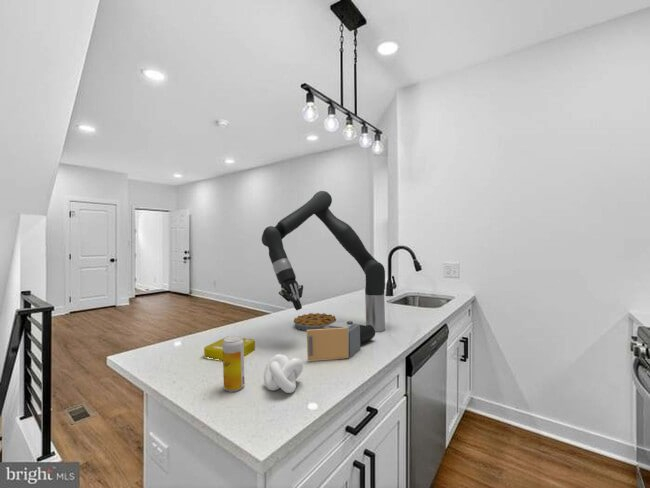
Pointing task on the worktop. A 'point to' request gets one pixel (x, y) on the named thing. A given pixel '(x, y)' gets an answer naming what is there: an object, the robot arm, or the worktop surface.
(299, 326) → the pie
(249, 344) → the element tile
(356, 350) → the grey matte box
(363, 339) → the end cap
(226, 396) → the worktop surface
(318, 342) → the side door
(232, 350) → the amber medicine vial
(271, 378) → the white decorative knot
